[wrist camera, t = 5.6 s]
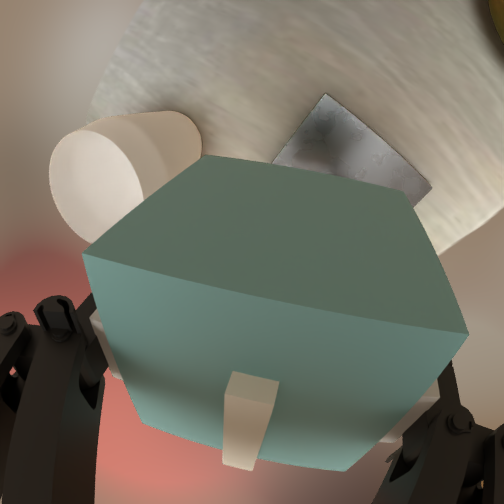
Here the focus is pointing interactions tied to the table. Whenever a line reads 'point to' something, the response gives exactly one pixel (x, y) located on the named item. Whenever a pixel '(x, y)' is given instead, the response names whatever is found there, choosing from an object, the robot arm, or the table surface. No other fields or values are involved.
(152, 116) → the cup
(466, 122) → the table surface
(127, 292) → the teal block
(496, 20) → the fruit
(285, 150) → the shaft fixture
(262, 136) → the table surface
